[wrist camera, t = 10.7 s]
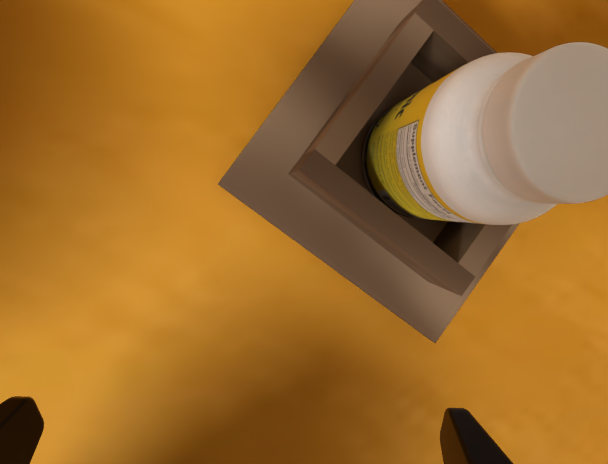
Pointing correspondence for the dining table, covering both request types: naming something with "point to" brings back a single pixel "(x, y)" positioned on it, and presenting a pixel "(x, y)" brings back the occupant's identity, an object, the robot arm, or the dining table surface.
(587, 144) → the supplement bottle
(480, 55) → the socket holder
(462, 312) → the dining table surface
